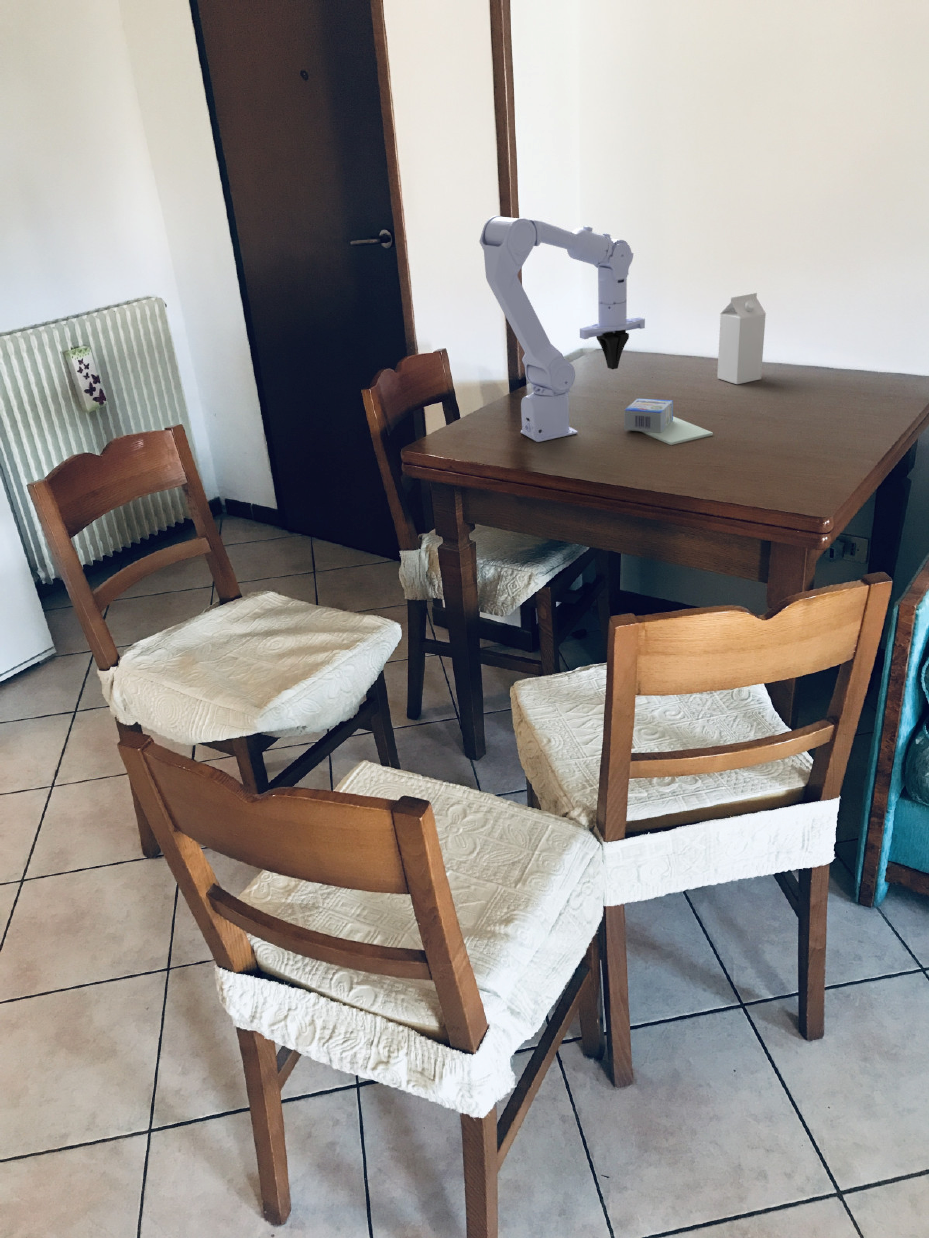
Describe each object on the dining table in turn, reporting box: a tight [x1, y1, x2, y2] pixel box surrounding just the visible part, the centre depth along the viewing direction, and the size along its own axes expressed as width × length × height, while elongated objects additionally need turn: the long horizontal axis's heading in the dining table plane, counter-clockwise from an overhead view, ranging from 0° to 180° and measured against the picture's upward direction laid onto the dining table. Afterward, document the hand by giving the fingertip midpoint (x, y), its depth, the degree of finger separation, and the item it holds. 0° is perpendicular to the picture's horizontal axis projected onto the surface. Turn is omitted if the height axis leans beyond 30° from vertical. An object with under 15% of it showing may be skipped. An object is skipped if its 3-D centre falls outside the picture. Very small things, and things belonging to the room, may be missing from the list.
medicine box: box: [623, 397, 674, 433], centre depth 196 cm, size 8×4×9 cm
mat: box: [640, 415, 714, 446], centre depth 195 cm, size 10×15×1 cm, turn 24°
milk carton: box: [716, 292, 766, 385], centre depth 219 cm, size 7×7×19 cm
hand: (612, 368), depth 201 cm, fingers closed
